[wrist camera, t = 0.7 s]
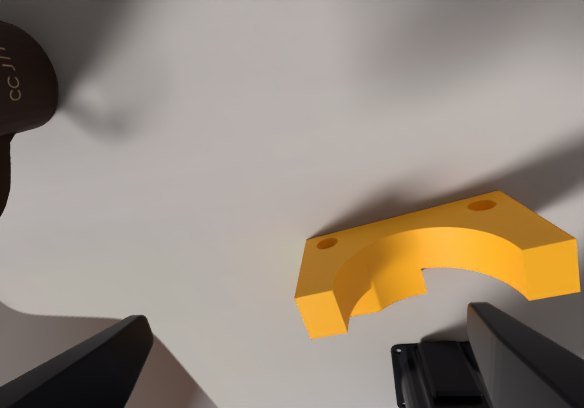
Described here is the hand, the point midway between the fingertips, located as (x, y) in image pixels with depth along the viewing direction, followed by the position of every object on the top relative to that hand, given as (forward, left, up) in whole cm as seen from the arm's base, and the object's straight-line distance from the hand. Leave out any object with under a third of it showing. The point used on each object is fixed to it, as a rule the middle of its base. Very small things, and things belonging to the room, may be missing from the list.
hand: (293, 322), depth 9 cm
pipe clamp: (-5, -5, -12) cm, 14 cm away
